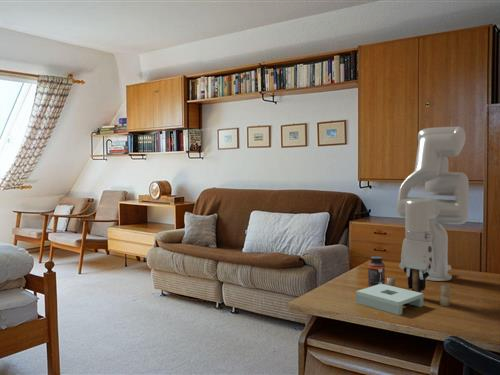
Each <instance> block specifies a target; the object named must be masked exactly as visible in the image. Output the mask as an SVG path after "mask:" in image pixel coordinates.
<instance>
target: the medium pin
mask: <svg viewBox="0 0 500 375" xmlns="http://www.w3.org/2000/svg"><path fill="white" fill-rule="evenodd" d="M450 291H451V285H450V284H448V283H440V284H439V305H440V306H441V307H442V306H443V307H450V302H451V300H450V299H451V298H450V297H451V295H450V294H451V292H450Z"/></svg>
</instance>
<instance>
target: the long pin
mask: <svg viewBox="0 0 500 375" xmlns="http://www.w3.org/2000/svg"><path fill="white" fill-rule="evenodd" d="M418 279H420V275H419V270H416V269H412V288H411V291H415V292H419V293H422V291H419V290H418Z"/></svg>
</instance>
